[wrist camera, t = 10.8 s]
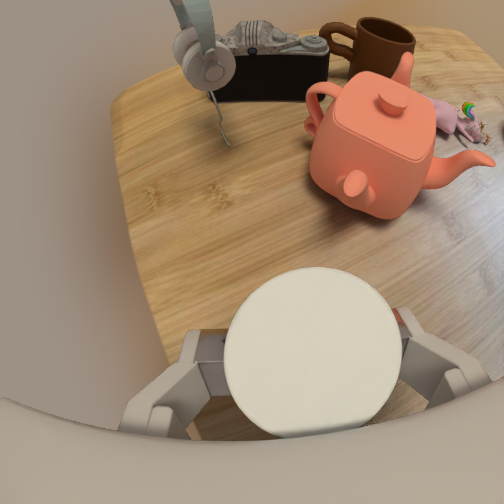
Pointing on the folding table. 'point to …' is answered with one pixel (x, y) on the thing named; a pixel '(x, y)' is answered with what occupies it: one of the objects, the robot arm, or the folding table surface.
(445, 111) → the pink animal figure
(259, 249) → the folding table surface
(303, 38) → the camera
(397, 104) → the teapot
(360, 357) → the pill bottle
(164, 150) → the folding table surface
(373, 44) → the mug
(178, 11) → the headphones
